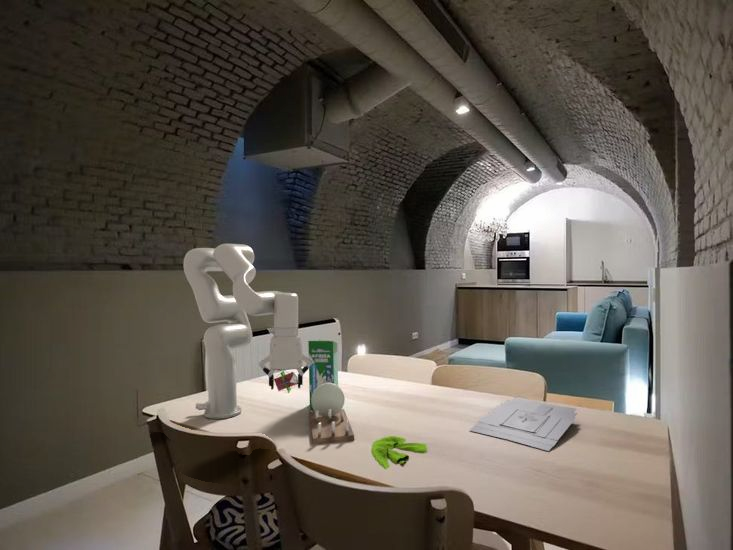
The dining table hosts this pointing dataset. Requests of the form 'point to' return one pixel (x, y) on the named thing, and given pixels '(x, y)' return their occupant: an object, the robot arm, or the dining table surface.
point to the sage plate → (327, 399)
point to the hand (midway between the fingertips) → (285, 387)
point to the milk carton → (322, 364)
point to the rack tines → (332, 422)
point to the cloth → (384, 451)
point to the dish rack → (330, 429)
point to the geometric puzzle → (286, 381)
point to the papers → (527, 422)
